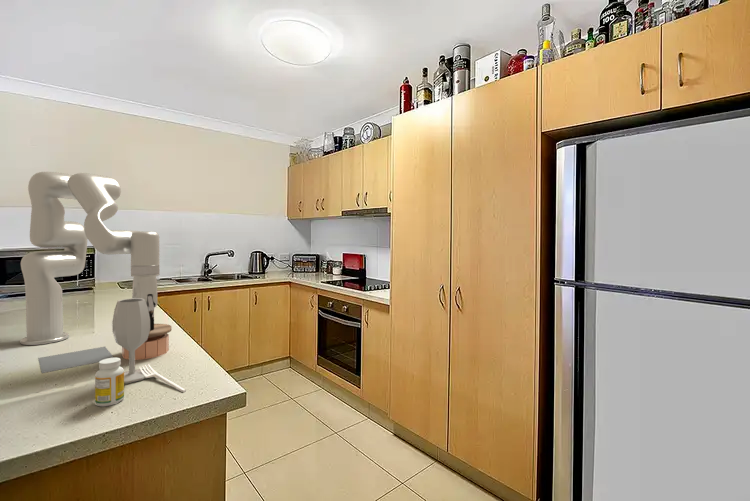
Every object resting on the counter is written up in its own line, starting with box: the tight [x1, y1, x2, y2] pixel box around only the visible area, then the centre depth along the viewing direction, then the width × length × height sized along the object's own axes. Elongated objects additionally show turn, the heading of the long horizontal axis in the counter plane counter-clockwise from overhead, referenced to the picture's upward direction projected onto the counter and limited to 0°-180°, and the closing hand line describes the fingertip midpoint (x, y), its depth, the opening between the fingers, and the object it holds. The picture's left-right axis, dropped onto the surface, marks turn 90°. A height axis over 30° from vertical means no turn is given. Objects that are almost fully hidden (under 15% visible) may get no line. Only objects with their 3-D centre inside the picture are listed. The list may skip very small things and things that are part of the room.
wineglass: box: [111, 297, 150, 385], centre depth 94 cm, size 9×9×21 cm
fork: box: [138, 363, 186, 393], centre depth 92 cm, size 3×20×2 cm, turn 58°
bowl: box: [121, 333, 170, 361], centre depth 112 cm, size 12×12×6 cm
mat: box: [38, 346, 115, 374], centre depth 106 cm, size 16×16×1 cm
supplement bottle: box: [94, 357, 125, 407], centre depth 81 cm, size 5×5×10 cm
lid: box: [148, 323, 172, 338], centre depth 111 cm, size 14×14×6 cm
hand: (145, 328), depth 111 cm, fingers closed on lid, 4 cm apart
